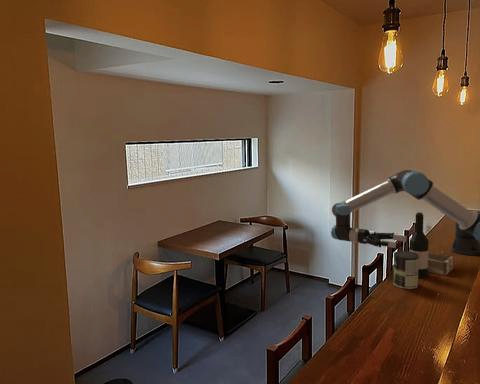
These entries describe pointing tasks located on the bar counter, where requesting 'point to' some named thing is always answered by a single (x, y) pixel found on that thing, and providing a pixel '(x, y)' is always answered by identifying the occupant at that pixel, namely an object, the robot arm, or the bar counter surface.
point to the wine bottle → (420, 246)
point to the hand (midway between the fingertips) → (401, 241)
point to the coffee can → (406, 269)
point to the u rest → (440, 263)
